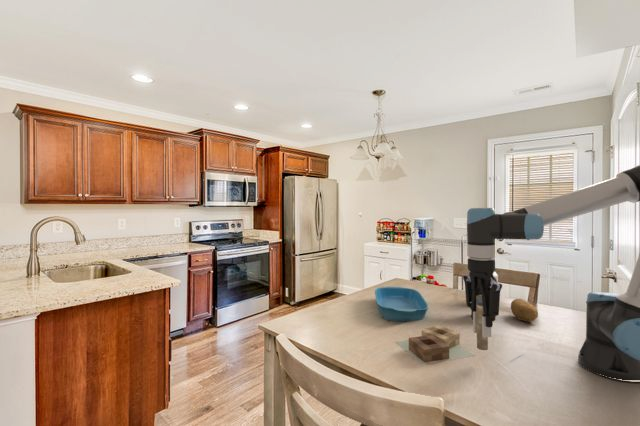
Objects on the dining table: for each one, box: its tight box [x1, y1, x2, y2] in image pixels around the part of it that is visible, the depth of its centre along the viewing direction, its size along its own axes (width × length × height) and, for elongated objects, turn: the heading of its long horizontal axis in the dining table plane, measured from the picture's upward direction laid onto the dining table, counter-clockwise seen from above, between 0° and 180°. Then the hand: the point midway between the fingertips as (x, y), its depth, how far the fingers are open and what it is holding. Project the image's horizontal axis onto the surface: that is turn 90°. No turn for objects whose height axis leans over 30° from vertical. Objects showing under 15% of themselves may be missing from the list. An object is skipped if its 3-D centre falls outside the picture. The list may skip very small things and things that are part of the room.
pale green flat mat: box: [395, 339, 476, 365], centre depth 106 cm, size 16×20×1 cm
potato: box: [510, 298, 539, 323], centre depth 135 cm, size 10×14×8 cm
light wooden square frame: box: [421, 324, 461, 349], centre depth 110 cm, size 9×9×4 cm
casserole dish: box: [374, 286, 429, 322], centre depth 147 cm, size 37×22×7 cm, turn 173°
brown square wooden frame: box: [408, 335, 449, 363], centre depth 102 cm, size 9×9×4 cm
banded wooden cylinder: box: [476, 295, 489, 351], centre depth 96 cm, size 3×3×16 cm
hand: (482, 334), depth 96 cm, fingers closed on banded wooden cylinder, 3 cm apart
